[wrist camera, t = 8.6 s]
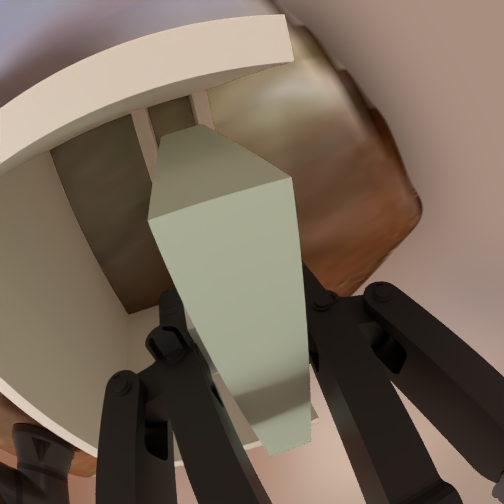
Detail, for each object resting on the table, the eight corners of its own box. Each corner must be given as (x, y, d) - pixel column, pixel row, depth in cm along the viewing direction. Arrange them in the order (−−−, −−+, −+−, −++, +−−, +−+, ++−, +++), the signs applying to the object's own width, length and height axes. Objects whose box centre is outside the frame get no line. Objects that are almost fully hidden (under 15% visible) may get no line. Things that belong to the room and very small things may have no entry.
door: (261, 304, 19) (326, 434, 10) (221, 317, 18) (270, 456, 10) (218, 119, 12) (340, 165, 4) (161, 136, 12) (147, 220, 3)
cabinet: (248, 285, 28) (318, 423, 15) (123, 325, 26) (127, 472, 13) (198, 77, 17) (284, 14, 4) (34, 143, 15) (-110, 231, 2)
